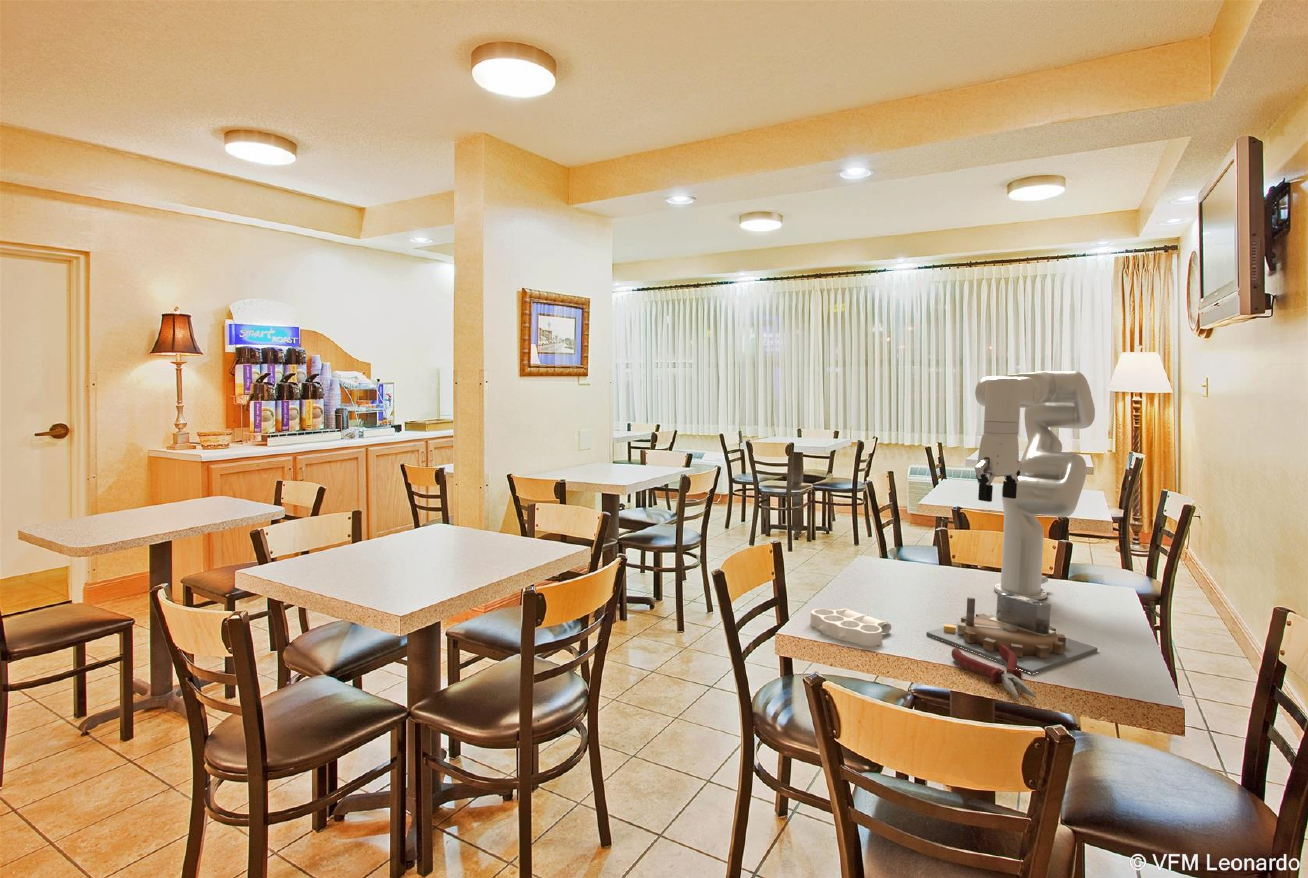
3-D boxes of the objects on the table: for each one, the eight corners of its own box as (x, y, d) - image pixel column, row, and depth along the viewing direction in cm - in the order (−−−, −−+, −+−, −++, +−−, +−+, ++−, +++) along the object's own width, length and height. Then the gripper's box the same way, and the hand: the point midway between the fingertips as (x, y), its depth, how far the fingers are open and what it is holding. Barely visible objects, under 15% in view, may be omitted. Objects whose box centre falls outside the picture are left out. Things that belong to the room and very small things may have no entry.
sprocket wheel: (954, 617, 163) (956, 584, 162) (1054, 629, 156) (1056, 594, 155) (961, 649, 144) (962, 611, 143) (1075, 664, 137) (1078, 624, 136)
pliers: (994, 706, 121) (994, 692, 121) (949, 658, 141) (948, 645, 141) (1060, 702, 121) (1060, 688, 121) (1005, 654, 141) (1005, 642, 141)
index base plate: (991, 617, 166) (991, 609, 166) (1097, 651, 146) (1097, 642, 146) (926, 635, 154) (926, 626, 154) (1032, 675, 134) (1032, 665, 133)
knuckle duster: (903, 638, 153) (862, 653, 145) (838, 615, 168) (797, 628, 159) (904, 623, 153) (862, 637, 144) (838, 602, 167) (797, 613, 159)
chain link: (1001, 616, 158) (1003, 590, 157) (1052, 632, 148) (1054, 604, 148) (993, 618, 156) (994, 592, 155) (1043, 634, 146) (1045, 606, 146)
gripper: (1007, 427, 174) (1003, 494, 175) (964, 428, 165) (961, 499, 166) (1037, 429, 167) (1033, 499, 169) (993, 431, 158) (990, 504, 160)
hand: (997, 499), depth 167 cm, fingers open, 9 cm apart
